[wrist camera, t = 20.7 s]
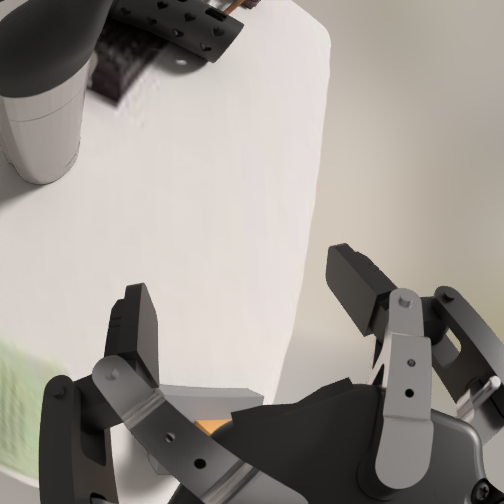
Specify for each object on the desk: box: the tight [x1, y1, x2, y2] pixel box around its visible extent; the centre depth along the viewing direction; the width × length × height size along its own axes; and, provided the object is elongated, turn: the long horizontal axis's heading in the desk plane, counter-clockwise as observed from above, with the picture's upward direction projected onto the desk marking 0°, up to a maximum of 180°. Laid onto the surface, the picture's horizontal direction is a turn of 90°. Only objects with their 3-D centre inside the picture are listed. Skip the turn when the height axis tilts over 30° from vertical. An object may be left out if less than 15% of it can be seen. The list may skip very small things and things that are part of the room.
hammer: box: [223, 0, 261, 15], centre depth 42 cm, size 7×33×10 cm, turn 161°
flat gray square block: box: [148, 384, 264, 475], centre depth 29 cm, size 14×12×8 cm
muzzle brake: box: [107, 0, 244, 63], centre depth 29 cm, size 10×28×10 cm, turn 76°
